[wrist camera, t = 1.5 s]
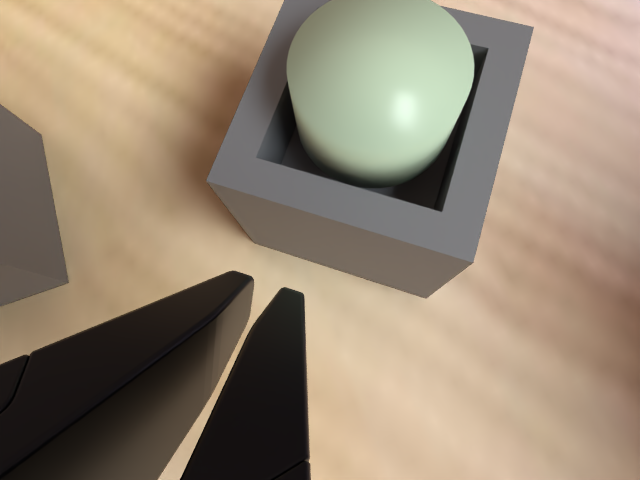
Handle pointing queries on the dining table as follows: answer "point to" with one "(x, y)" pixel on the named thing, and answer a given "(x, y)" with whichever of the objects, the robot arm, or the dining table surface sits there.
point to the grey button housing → (370, 203)
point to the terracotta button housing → (26, 215)
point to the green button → (378, 87)
